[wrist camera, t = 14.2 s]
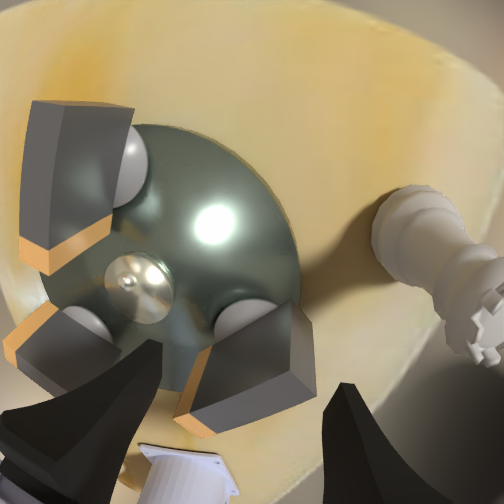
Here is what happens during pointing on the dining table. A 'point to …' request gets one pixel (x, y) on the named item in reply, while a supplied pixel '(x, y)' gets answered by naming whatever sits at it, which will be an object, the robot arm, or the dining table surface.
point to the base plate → (183, 251)
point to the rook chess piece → (444, 268)
